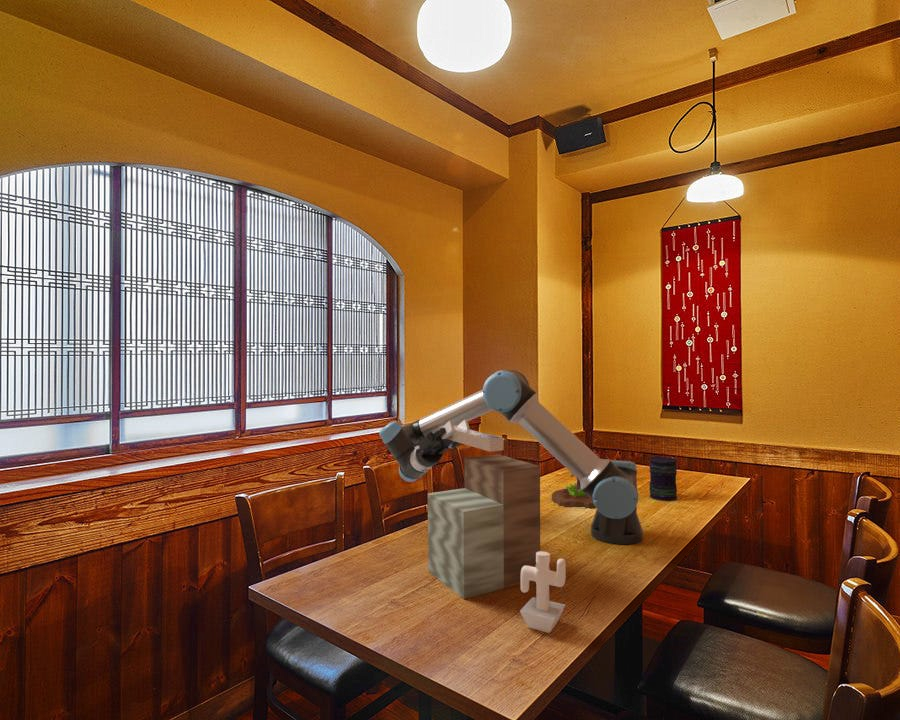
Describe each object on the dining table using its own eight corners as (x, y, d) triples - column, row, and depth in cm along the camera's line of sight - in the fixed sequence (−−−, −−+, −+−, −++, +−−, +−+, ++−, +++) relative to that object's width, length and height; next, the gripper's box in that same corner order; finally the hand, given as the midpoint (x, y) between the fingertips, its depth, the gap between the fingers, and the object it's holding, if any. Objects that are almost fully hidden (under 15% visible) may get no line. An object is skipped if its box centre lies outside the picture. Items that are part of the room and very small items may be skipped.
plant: (547, 494, 211) (547, 466, 211) (596, 495, 210) (596, 466, 210) (556, 509, 191) (556, 478, 191) (611, 509, 190) (611, 478, 190)
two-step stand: (428, 571, 136) (427, 462, 136) (499, 555, 147) (498, 454, 146) (463, 599, 120) (463, 476, 120) (540, 578, 131) (540, 466, 131)
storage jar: (681, 501, 200) (681, 461, 199) (654, 501, 200) (654, 461, 200) (670, 494, 209) (670, 456, 209) (645, 494, 210) (645, 456, 210)
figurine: (527, 612, 114) (527, 543, 114) (570, 623, 109) (570, 551, 109) (514, 627, 108) (514, 554, 108) (559, 640, 103) (559, 563, 103)
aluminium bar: (439, 436, 149) (439, 426, 149) (451, 435, 151) (451, 425, 151) (489, 451, 126) (489, 439, 126) (503, 450, 128) (503, 437, 128)
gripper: (454, 464, 163) (490, 435, 145) (403, 470, 155) (434, 439, 137) (448, 441, 166) (482, 410, 148) (398, 446, 158) (428, 413, 140)
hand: (459, 424), depth 143 cm, fingers closed on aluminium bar, 4 cm apart
